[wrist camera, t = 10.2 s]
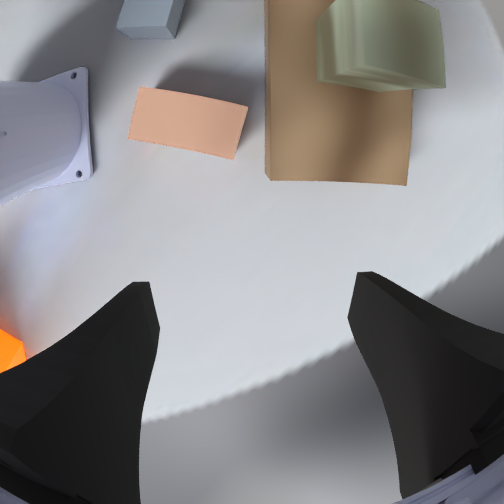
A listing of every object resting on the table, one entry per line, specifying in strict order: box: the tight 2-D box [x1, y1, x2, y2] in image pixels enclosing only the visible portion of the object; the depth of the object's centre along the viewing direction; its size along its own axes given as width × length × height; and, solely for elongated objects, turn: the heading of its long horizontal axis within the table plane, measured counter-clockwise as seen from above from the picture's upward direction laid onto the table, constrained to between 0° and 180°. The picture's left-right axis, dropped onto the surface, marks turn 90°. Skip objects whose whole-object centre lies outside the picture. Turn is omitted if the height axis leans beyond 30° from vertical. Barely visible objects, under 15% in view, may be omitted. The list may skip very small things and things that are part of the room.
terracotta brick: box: [128, 87, 248, 160], centre depth 15 cm, size 6×3×3 cm, turn 74°
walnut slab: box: [264, 0, 413, 186], centre depth 14 cm, size 9×15×2 cm, turn 0°
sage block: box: [315, 0, 446, 92], centre depth 10 cm, size 4×4×6 cm
